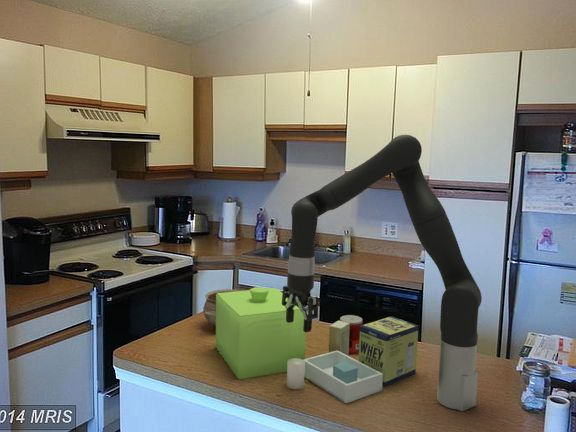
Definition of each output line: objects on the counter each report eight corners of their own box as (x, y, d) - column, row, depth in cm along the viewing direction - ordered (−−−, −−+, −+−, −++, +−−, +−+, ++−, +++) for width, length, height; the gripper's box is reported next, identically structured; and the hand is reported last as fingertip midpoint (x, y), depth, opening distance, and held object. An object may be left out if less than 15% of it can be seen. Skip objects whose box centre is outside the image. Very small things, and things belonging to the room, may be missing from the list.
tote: (382, 390, 139) (382, 373, 138) (346, 403, 131) (346, 385, 130) (336, 365, 155) (337, 350, 154) (302, 375, 147) (302, 359, 146)
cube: (357, 384, 141) (357, 367, 140) (343, 388, 138) (344, 371, 137) (345, 377, 145) (346, 361, 144) (332, 381, 142) (333, 365, 142)
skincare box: (337, 355, 163) (338, 319, 161) (348, 358, 160) (350, 322, 159) (327, 361, 157) (328, 325, 156) (339, 365, 155) (340, 328, 153)
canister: (215, 348, 166) (216, 281, 163) (273, 340, 175) (275, 277, 172) (238, 380, 143) (239, 303, 141) (304, 368, 152) (306, 296, 149)
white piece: (307, 386, 140) (308, 363, 139) (293, 390, 137) (294, 367, 137) (297, 379, 144) (298, 357, 143) (283, 383, 141) (284, 360, 141)
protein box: (357, 374, 149) (359, 325, 147) (389, 361, 159) (392, 315, 157) (384, 387, 141) (386, 335, 139) (416, 373, 151) (419, 324, 149)
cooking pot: (230, 313, 202) (231, 284, 201) (267, 323, 192) (268, 292, 190) (186, 330, 182) (186, 298, 180) (225, 342, 171) (226, 308, 170)
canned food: (360, 346, 171) (362, 315, 170) (361, 355, 163) (363, 323, 162) (338, 344, 172) (339, 314, 170) (338, 353, 164) (340, 322, 163)
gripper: (327, 275, 134) (324, 332, 136) (297, 264, 145) (294, 317, 148) (305, 278, 129) (302, 337, 132) (276, 266, 141) (273, 321, 143)
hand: (298, 326), depth 140 cm, fingers open, 8 cm apart
